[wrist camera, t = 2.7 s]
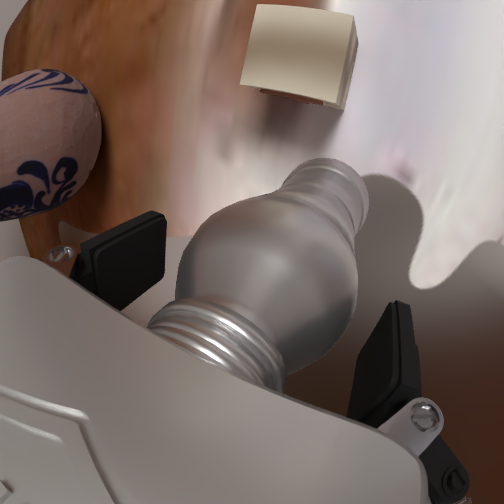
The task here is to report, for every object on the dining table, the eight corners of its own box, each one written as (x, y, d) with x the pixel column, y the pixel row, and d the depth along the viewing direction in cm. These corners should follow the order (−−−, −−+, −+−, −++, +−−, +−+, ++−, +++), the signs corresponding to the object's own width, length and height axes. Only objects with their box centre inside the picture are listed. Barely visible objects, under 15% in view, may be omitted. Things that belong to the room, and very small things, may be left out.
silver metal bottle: (385, 200, 20) (396, 462, 4) (324, 248, 24) (208, 474, 7) (330, 138, 20) (121, 191, 3) (273, 192, 24) (65, 345, 7)
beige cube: (284, 30, 17) (257, 4, 12) (358, 43, 16) (353, 15, 11) (270, 96, 20) (239, 88, 15) (343, 113, 19) (334, 107, 14)
